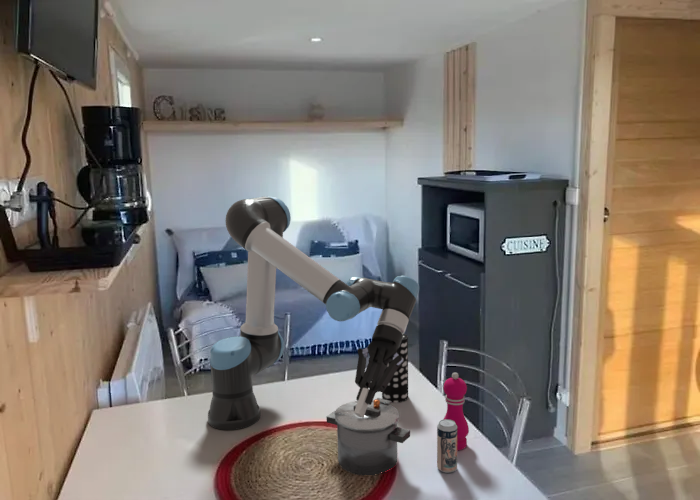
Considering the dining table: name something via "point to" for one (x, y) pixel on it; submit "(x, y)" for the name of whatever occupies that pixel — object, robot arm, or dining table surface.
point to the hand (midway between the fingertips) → (358, 415)
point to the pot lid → (368, 416)
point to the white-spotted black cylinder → (399, 377)
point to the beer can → (447, 446)
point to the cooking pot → (368, 448)
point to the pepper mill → (456, 407)
